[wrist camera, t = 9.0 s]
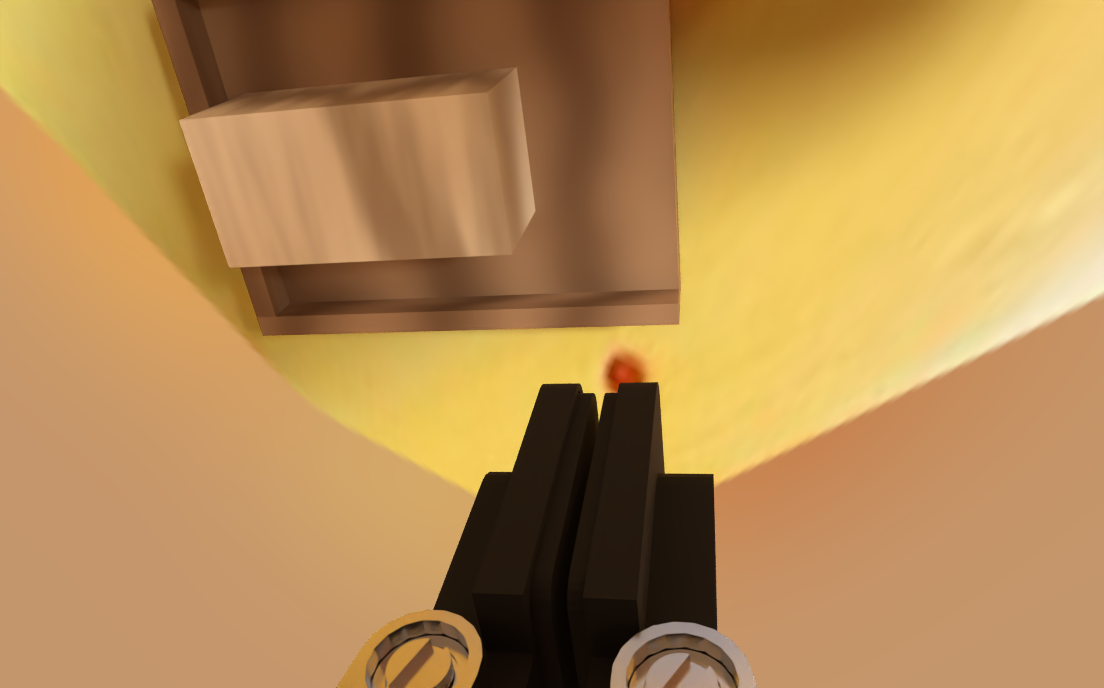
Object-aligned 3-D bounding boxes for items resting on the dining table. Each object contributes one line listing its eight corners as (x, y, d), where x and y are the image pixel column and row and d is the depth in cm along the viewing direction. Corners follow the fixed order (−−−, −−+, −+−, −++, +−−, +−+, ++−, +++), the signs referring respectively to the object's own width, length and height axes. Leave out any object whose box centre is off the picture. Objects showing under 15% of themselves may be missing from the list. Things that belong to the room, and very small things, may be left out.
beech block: (487, 92, 26) (178, 120, 29) (511, 254, 29) (228, 267, 31) (516, 67, 31) (246, 93, 33) (535, 210, 33) (285, 225, 36)
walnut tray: (665, -96, 29) (661, -98, 26) (680, 285, 37) (679, 324, 33) (200, -34, 33) (142, -28, 30) (299, 299, 41) (263, 335, 37)
